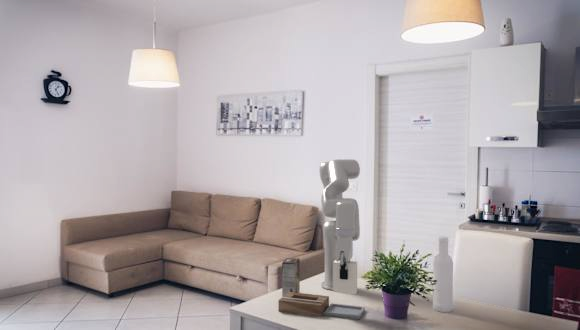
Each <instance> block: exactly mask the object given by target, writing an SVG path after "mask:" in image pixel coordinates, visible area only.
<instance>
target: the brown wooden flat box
mask: <svg viewBox="0 0 580 330" xmlns="http://www.w3.org/2000/svg"><path fill="white" fill-rule="evenodd" d="M329 306H330V296H329V295H322V294H321V295H320V294H311V293H304V292H303V293H302V292H300V293H295V292H288V293H287V294H285V295H284V296H283V297H281V298H279V299H278V312H281V313H282V312H283V313H289V314H290V313H291V314H298V315H299V314H300V315H306V316H307V315H308V316H315V317H322V316H323V315H322V314H324V312H325V311H326V309H327V308H328V307H329Z"/></svg>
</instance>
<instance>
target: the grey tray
mask: <svg viewBox="0 0 580 330" xmlns="http://www.w3.org/2000/svg"><path fill="white" fill-rule="evenodd" d="M365 309H366V307H365V306H359V305H351V304H349V305H348V304H340V303H334V302H333V303H332V302H331V304H330V303H329V307H328V308H327V309H326V311H325V312H324V313H323V314H324V315H325V316H326V317H333V318H344V319H351V320H357V321H358V320H359V321H360V319H361V318H362V316H363V315H364V313H365V311H366V310H365Z"/></svg>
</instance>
